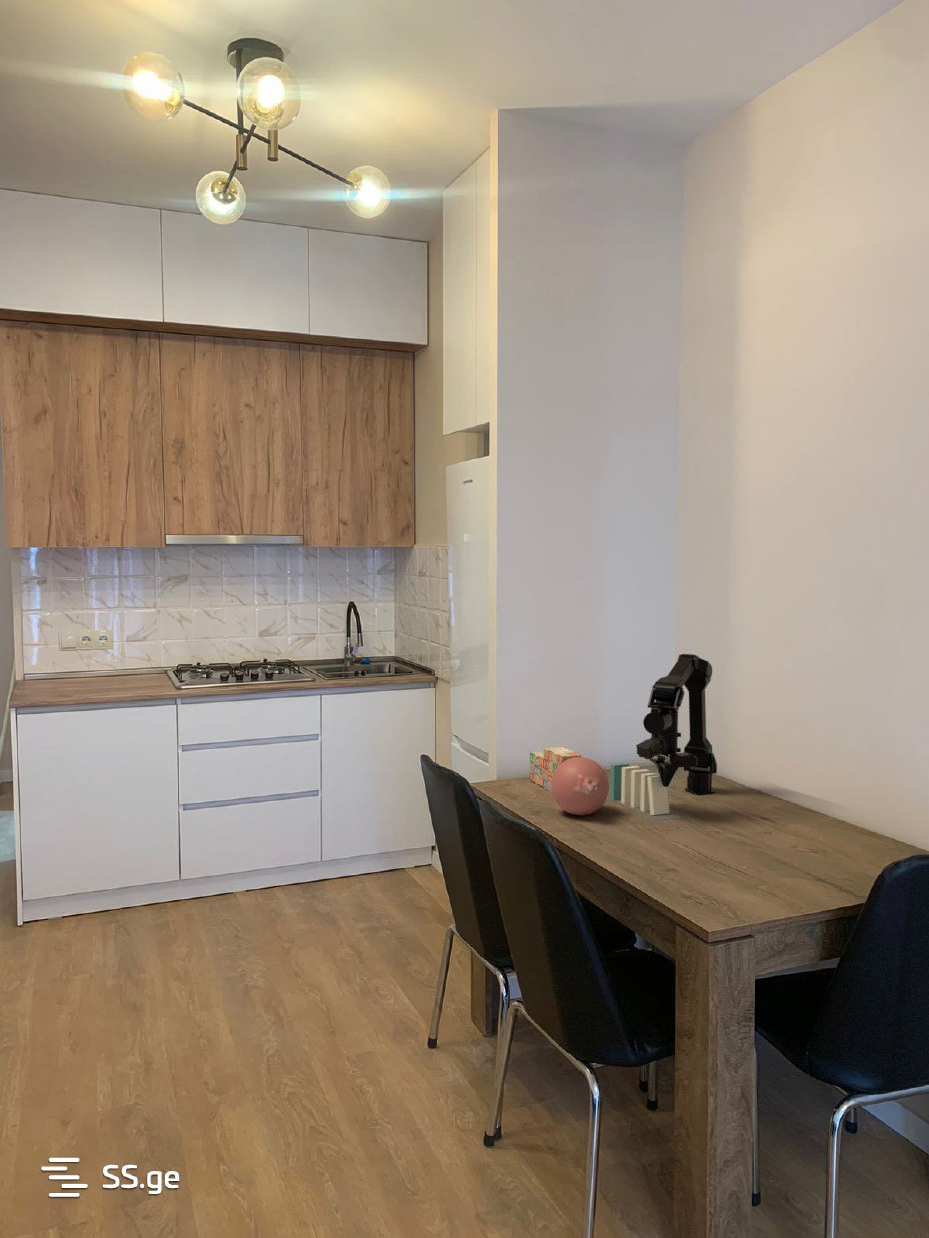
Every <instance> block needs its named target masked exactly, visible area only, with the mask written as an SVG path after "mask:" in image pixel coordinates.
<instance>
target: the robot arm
mask: <svg viewBox="0 0 929 1238" xmlns="http://www.w3.org/2000/svg"><path fill="white" fill-rule="evenodd" d="M712 676H713V666H712V664H711V663H710V662H709V661H708V660H705V659H703V658H701V657H699V655H697V654H694V653H693V654H691V653H682V654H679V655H678V658H677V660H676V662H675V663H674V666H673V667H672V668H671V670H670V671H669V673H668V674H667V675H666V676H663V677H659V678H658V679H657V680H656V681H655V683H654V684H653V686H652V687H651V690H650V695H649V699H648V703H647V708H650V712H649V713H647V714H645V716H644V718H643V722H642V723H643V727H644V729H645V731H646V732H647V733H649V734H651V736H650V738H648V739H644V741H643V740H642V741H641V742H639V743H638V744H636V745H635V747H636V755H638V758H643V759H645V760H649V761H650V762H652V763H653V764H654V765H655V766H656V768H657V771H658V773H659V774H660V778H661V781H662V784H663V786H664V787H667V788H668V787H669V785H670V783H671V781H672V779H673V778H674V776H675V774H676V773H677V771H678V769H679V768H683V771H685V772H688V775H687V777H686V778H687V780H686V787H685V788H684V791H686V790H687V791H686V792H689V793H692V794H695V795H707V794H715V793H716V791H715V790H713V789H712V784H713V783H712V782H713V781H712V780H713V774H717V773H718V763H717V759H716V757H715V754H714V752H713V746H712V744H711V742H710V741H709V739H708V738H707V720H706V719H707V717H706V716H707V715H706V714H707V713H706V712H707V710H706V709H707V708H706V689H707V687H708V685H709V684H710V683H711V681H712ZM683 687H685V688H686V690H687V691H688V713H689V714H688V715H689V719H688V720H689V722H688V723H689V740H688V741H687V743H686V745H685V746H684V748H683V752H682V750H681V749H682V748H680V747H679V746H678V738H681V737H682V732H679V728H678V727H679V710H680V707H681V705H682V704H683V700H684V697H685V691H684V688H683Z"/></svg>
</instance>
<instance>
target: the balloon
mask: <svg viewBox="0 0 929 1238" xmlns="http://www.w3.org/2000/svg"><path fill="white" fill-rule="evenodd" d="M609 791H610V782H609V777H608V775H607V772H606V771H605V769H604V768H603V767H602V766H601V764H599V763H598V762H597V761H595V760H593V759H592V758H588V757H584V756H581V757H574V758H570V759H568V760H566V761H564V762H563V763H561V764H560V765H559V766H558V767H557V769H556V770H555V772H554V774H553V776H552V781H551V791H550V792H551V794H552V797H553V799H554V801H555V803H556V805H557V806H558V807H560V809H562V810H563V811H564V812H566V813H568V814H571V815H573V816H587V815H591V814H593V813H595V812H596V811H598V810H599V809H600V808H602V806H603V805H604V804H605V802H606V800H607V796H609V793H610V792H609Z"/></svg>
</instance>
